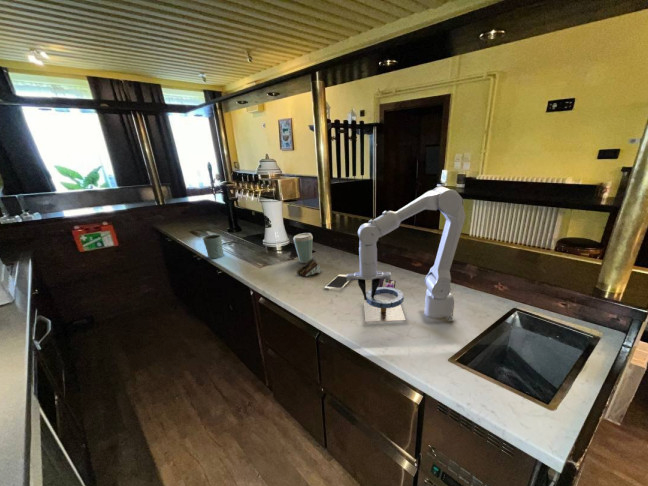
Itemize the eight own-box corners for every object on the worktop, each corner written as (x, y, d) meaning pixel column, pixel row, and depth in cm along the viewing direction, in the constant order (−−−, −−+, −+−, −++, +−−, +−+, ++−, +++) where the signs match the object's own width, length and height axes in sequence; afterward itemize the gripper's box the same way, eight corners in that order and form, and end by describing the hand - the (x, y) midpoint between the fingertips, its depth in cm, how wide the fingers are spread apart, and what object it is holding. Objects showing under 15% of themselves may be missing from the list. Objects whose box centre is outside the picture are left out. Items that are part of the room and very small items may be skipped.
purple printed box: (376, 276, 126) (394, 281, 121) (382, 276, 130) (400, 281, 125) (373, 291, 127) (391, 297, 122) (379, 291, 132) (397, 296, 126)
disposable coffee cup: (296, 265, 162) (293, 238, 155) (295, 259, 171) (292, 233, 165) (316, 263, 164) (313, 236, 157) (313, 256, 173) (311, 231, 167)
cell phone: (354, 277, 143) (354, 275, 143) (340, 291, 130) (340, 289, 130) (339, 275, 146) (339, 274, 146) (324, 288, 133) (324, 287, 133)
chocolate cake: (302, 280, 144) (318, 260, 144) (294, 272, 148) (309, 253, 148) (313, 286, 152) (328, 267, 152) (305, 279, 156) (320, 261, 156)
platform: (399, 304, 117) (399, 291, 115) (405, 323, 104) (406, 309, 102) (363, 306, 117) (363, 293, 115) (365, 325, 105) (364, 311, 102)
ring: (400, 290, 109) (400, 286, 108) (405, 307, 98) (406, 302, 97) (365, 292, 109) (365, 287, 108) (367, 309, 98) (366, 304, 97)
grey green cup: (210, 253, 187) (205, 235, 182) (227, 252, 188) (223, 233, 182) (205, 259, 178) (200, 239, 173) (222, 258, 178) (218, 238, 173)
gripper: (389, 256, 101) (388, 292, 107) (346, 258, 101) (348, 294, 107) (391, 263, 95) (391, 302, 100) (345, 265, 95) (347, 303, 101)
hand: (368, 298), depth 103 cm, fingers closed on ring, 2 cm apart
